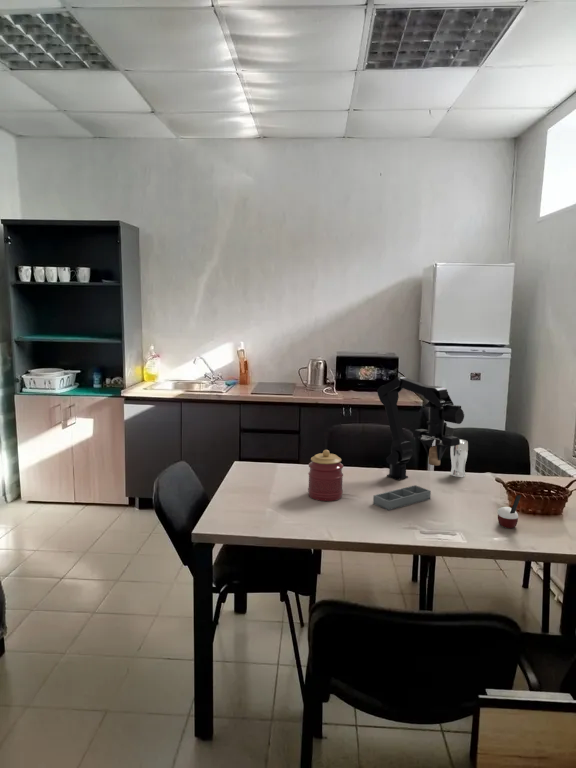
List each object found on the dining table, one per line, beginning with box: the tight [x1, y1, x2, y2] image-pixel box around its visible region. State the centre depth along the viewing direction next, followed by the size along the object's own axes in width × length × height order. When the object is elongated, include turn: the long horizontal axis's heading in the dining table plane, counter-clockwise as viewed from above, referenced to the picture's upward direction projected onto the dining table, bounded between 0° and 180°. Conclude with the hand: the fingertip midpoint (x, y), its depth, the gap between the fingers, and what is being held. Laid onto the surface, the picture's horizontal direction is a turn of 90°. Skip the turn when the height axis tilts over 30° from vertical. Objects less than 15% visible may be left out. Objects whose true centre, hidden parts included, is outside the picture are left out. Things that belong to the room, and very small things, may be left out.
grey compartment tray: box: [372, 484, 432, 511], centre depth 199 cm, size 8×22×3 cm, turn 124°
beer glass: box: [449, 438, 469, 478], centre depth 231 cm, size 7×7×15 cm
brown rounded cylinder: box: [428, 445, 441, 467], centre depth 212 cm, size 4×4×7 cm
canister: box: [307, 449, 344, 502], centre depth 203 cm, size 13×13×18 cm
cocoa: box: [497, 494, 522, 529], centre depth 176 cm, size 10×6×12 cm, turn 169°
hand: (434, 458), depth 212 cm, fingers closed on brown rounded cylinder, 4 cm apart
